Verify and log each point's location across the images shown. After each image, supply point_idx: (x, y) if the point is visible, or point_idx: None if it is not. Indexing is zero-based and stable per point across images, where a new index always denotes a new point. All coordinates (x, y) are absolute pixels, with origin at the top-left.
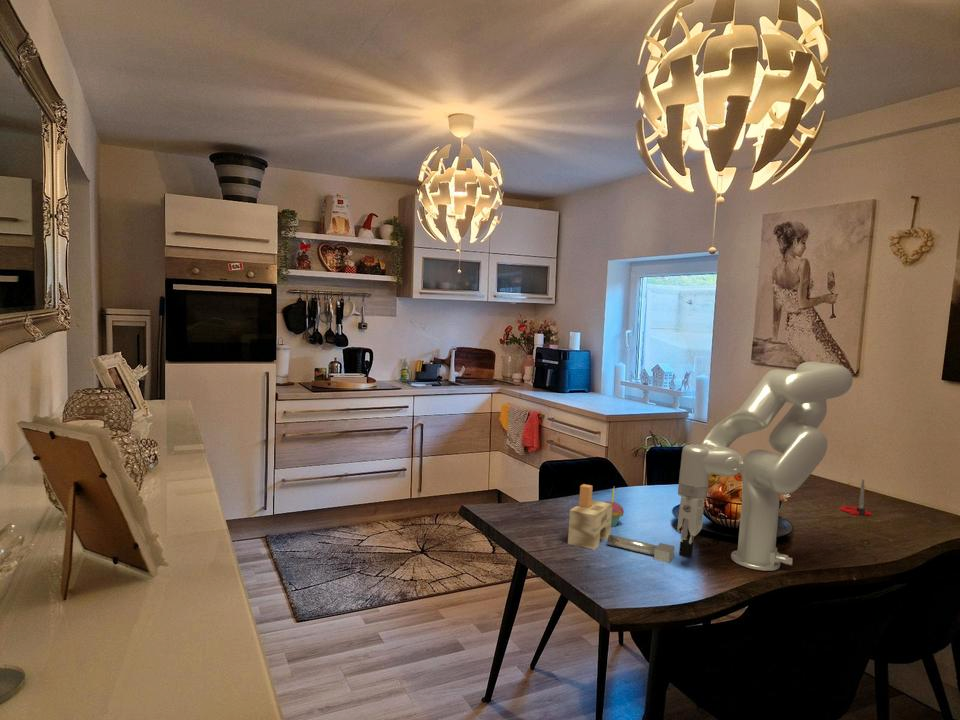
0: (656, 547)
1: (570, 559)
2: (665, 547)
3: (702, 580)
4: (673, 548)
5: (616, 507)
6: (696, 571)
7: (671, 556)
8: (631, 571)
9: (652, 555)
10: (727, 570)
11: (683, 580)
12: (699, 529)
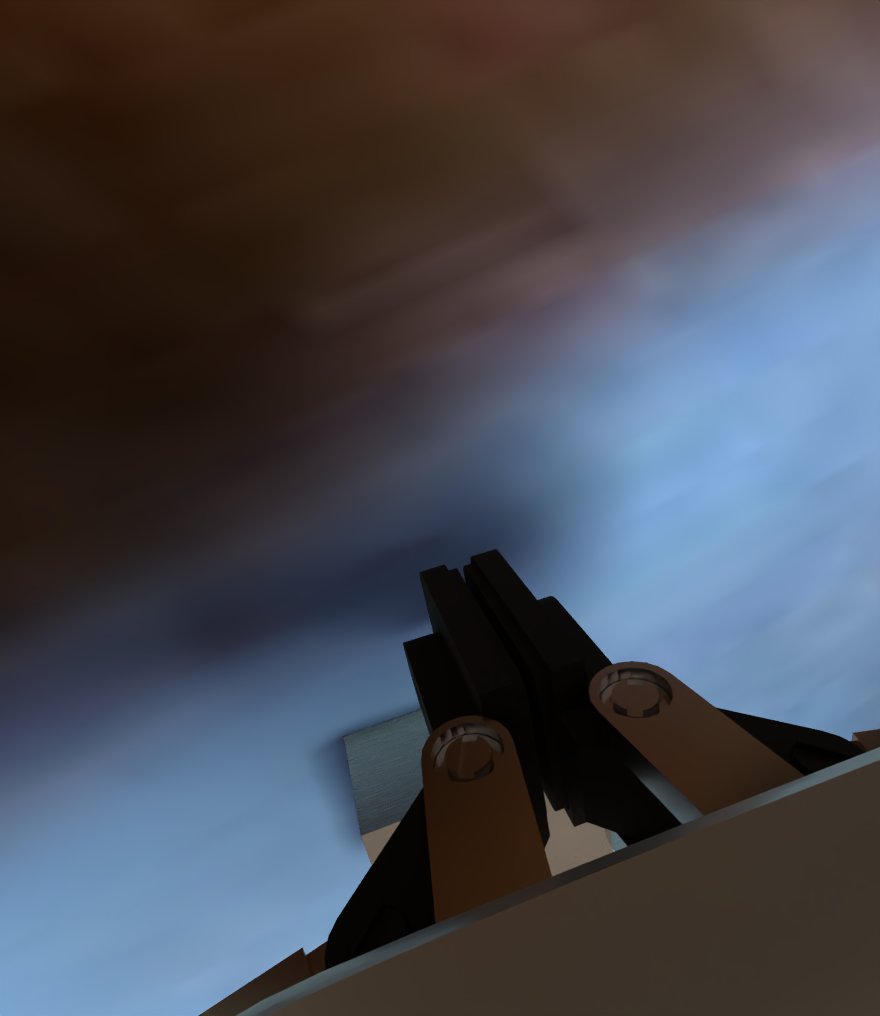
0: (560, 872)
1: None
2: None
3: (755, 217)
4: (405, 804)
5: None
6: (558, 384)
7: None
8: (873, 698)
9: None
10: (168, 55)
11: (850, 366)
12: (738, 936)
